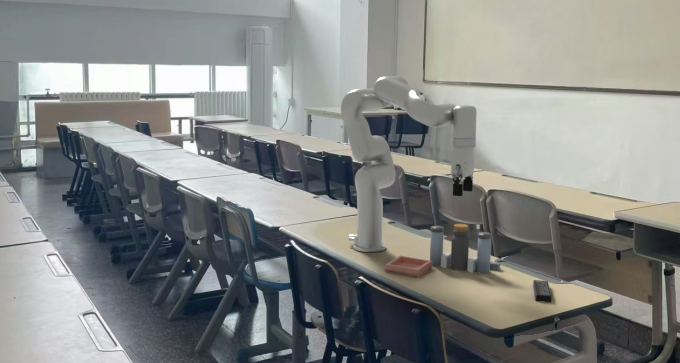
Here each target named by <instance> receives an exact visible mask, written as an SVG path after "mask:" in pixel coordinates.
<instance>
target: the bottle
mask: <svg viewBox="0 0 680 363" xmlns="http://www.w3.org/2000/svg"><path fill="white" fill-rule="evenodd" d="M453 228H454V229H453V230H452V233H453V234H454V235H453V236H452V237H451V243H450V244H451V245H450V246H451V249H450V253H451V265H450V268H451V269H452V270H456V271H465V270H467V268H468V258H469V251H470V250H469V249H470V248H469V247H470V245H469V244H470V239H469V236H467V235H468V234H469V230H468V228H469V225H468V224H465V223H456V224H455V223H454V224H453Z"/></svg>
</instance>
